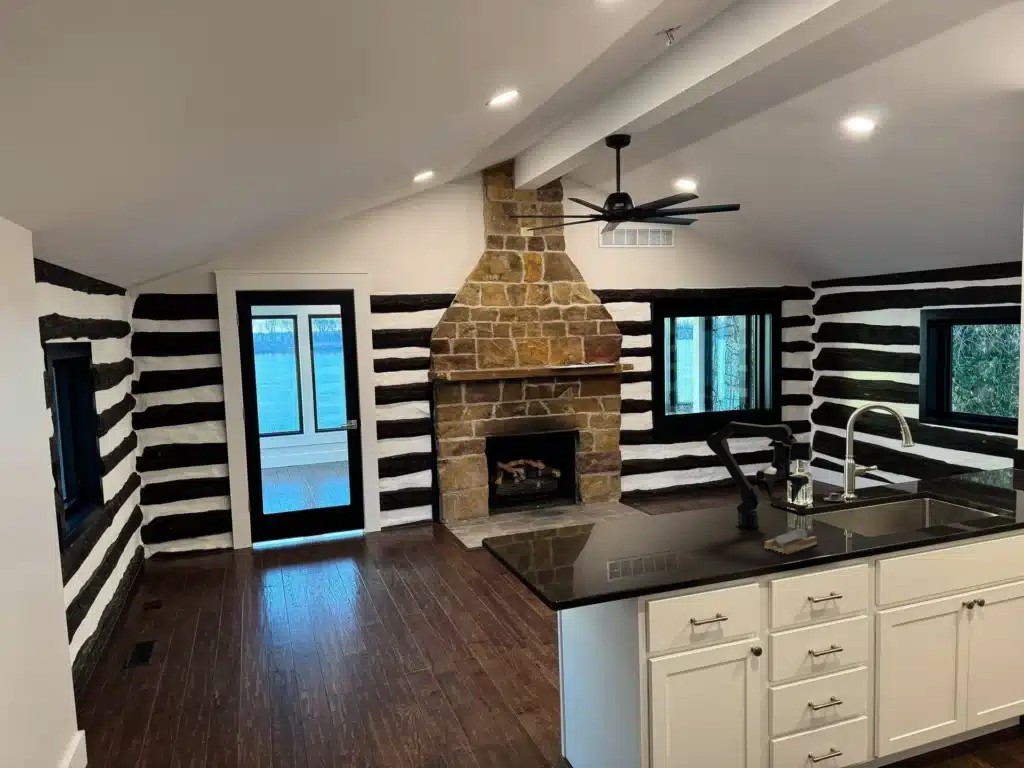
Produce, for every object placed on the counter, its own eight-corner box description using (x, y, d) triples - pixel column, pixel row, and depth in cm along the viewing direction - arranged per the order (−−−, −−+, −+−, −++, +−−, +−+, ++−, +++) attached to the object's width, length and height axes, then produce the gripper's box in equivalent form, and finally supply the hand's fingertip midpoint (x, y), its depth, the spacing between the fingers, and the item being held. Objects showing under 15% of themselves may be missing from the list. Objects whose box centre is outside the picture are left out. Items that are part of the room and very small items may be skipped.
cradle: (764, 548, 254) (764, 541, 254) (793, 538, 265) (793, 531, 265) (787, 554, 247) (788, 547, 247) (816, 543, 258) (816, 537, 258)
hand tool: (806, 514, 298) (806, 503, 298) (798, 515, 297) (798, 504, 297) (775, 504, 316) (775, 493, 316) (767, 505, 315) (767, 494, 315)
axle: (784, 549, 250) (784, 537, 250) (773, 546, 253) (774, 534, 253) (806, 541, 259) (807, 530, 258) (796, 538, 262) (796, 527, 261)
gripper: (747, 458, 275) (747, 499, 276) (792, 465, 260) (792, 508, 261) (764, 454, 282) (764, 494, 283) (809, 460, 267) (809, 502, 268)
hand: (781, 499), depth 274 cm, fingers open, 9 cm apart
